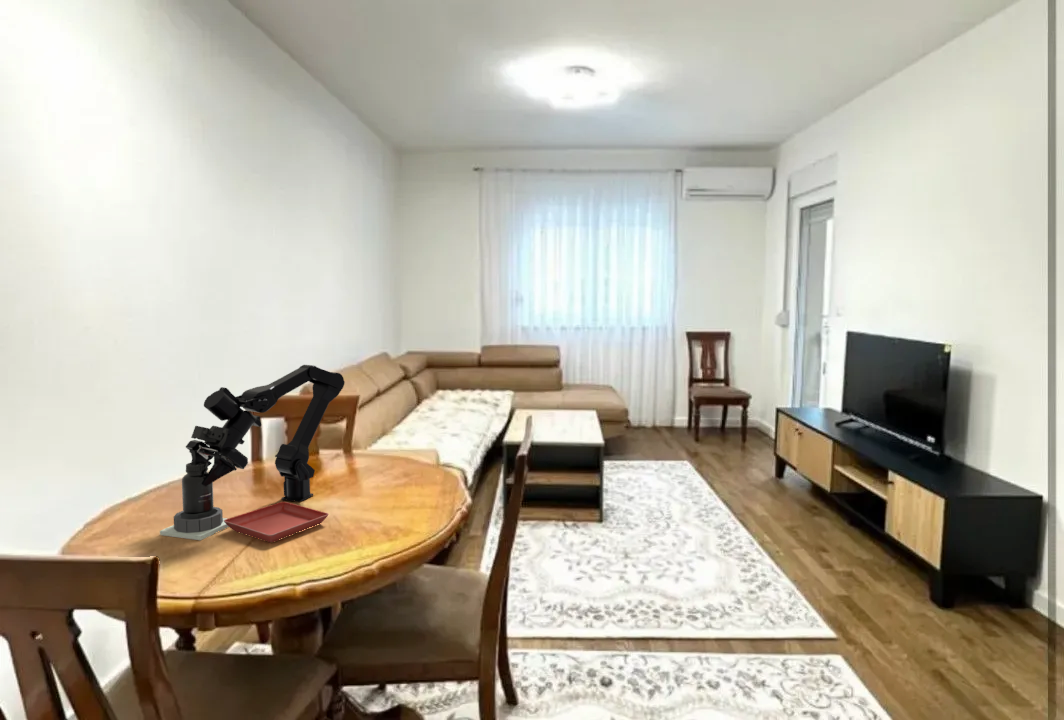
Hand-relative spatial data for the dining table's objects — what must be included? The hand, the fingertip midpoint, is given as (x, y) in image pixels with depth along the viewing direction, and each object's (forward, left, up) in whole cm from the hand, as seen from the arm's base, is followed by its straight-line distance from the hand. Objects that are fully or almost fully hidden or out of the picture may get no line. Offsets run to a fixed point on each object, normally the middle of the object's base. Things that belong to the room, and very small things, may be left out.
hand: (195, 483), depth 160 cm
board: (0, 0, -12) cm, 12 cm away
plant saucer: (-18, -7, -12) cm, 23 cm away
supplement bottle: (0, -1, -7) cm, 7 cm away
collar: (0, 0, -12) cm, 12 cm away
